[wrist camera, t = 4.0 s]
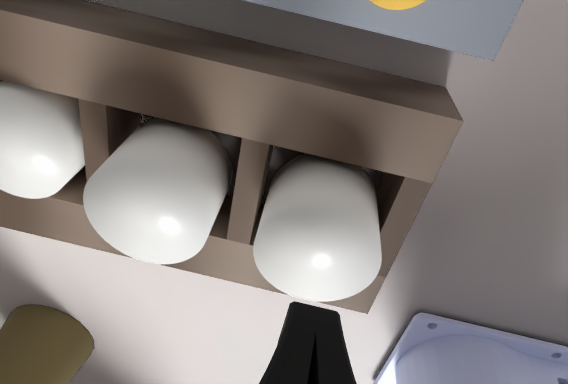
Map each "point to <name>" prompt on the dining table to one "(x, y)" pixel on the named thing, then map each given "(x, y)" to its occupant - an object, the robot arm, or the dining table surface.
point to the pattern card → (419, 20)
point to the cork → (42, 346)
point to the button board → (221, 120)
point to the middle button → (159, 191)
